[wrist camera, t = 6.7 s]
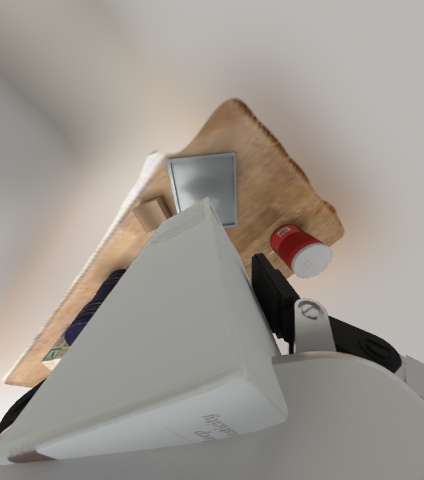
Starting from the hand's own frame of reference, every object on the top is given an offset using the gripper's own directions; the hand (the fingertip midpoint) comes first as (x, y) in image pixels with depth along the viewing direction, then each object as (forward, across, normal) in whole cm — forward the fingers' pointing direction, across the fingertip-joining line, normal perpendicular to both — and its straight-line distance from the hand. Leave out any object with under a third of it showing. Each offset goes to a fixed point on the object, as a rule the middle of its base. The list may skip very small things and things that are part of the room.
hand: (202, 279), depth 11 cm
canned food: (+25, -20, +12) cm, 35 cm away
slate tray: (+25, -2, -1) cm, 25 cm away
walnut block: (+25, +9, +1) cm, 27 cm away
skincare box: (+7, 0, 0) cm, 7 cm away
